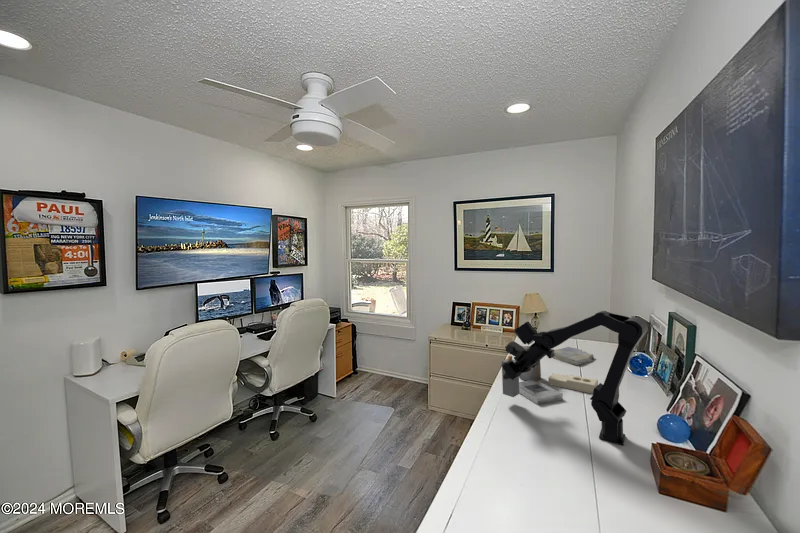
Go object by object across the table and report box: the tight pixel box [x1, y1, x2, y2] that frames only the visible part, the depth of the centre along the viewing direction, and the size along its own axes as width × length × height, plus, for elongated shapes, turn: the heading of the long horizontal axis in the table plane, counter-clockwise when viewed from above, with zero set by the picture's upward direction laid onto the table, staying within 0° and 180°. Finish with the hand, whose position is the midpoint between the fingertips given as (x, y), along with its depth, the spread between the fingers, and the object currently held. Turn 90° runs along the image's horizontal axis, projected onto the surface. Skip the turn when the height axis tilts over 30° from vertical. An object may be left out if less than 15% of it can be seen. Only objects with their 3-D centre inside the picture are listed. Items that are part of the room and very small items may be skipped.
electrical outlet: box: [547, 372, 599, 395], centre depth 144 cm, size 7×4×18 cm
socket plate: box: [519, 379, 564, 406], centre depth 138 cm, size 16×12×2 cm
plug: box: [501, 354, 520, 398], centre depth 130 cm, size 4×4×15 cm
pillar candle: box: [519, 345, 542, 382], centre depth 155 cm, size 10×10×15 cm
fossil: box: [552, 346, 596, 366], centre depth 180 cm, size 20×5×17 cm
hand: (507, 376), depth 131 cm, fingers closed on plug, 4 cm apart
